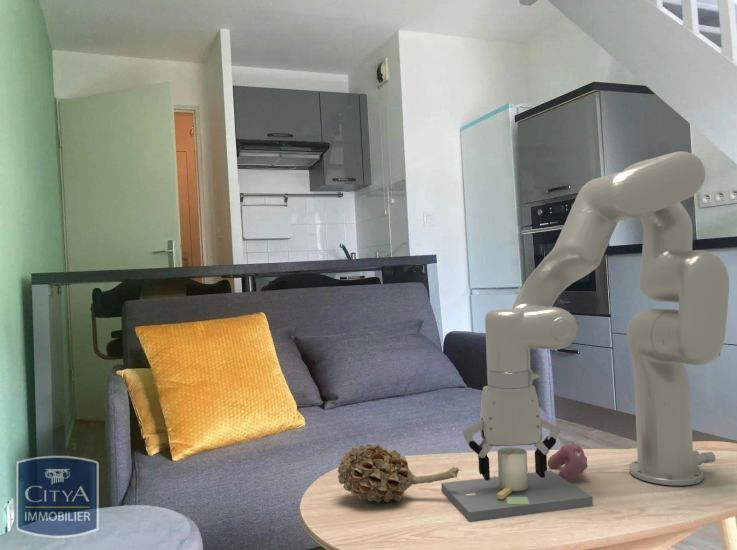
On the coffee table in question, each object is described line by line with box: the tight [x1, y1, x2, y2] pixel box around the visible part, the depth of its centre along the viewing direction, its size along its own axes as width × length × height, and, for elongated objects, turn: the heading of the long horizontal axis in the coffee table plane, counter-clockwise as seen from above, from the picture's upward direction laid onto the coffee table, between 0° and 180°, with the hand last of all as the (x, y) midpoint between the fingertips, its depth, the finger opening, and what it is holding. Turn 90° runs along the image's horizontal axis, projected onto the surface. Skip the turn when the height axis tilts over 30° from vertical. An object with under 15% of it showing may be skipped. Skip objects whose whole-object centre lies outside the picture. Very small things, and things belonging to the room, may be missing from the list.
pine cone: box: [337, 443, 462, 503], centre depth 105 cm, size 22×10×10 cm, turn 89°
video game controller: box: [547, 442, 588, 483], centre depth 114 cm, size 10×5×7 cm, turn 175°
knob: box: [497, 446, 529, 499], centre depth 102 cm, size 8×5×7 cm, turn 144°
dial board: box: [440, 470, 594, 522], centre depth 103 cm, size 22×14×2 cm, turn 101°
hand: (513, 476), depth 104 cm, fingers open, 9 cm apart
